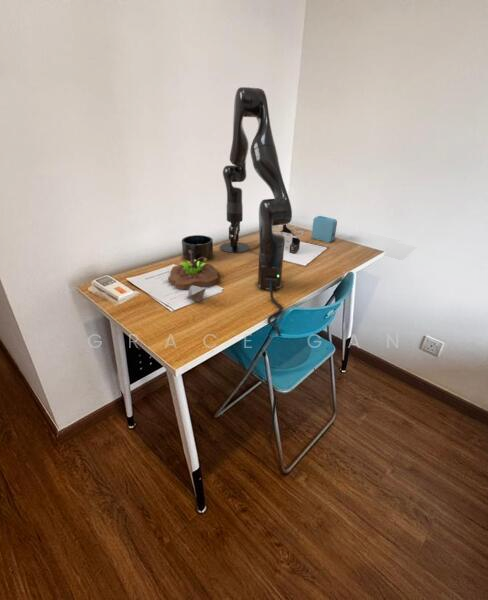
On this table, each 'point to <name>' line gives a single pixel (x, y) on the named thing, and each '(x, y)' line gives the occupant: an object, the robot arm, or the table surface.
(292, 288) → the table surface
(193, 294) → the paper boat
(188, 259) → the pot
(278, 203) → the robot arm
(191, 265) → the plant
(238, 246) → the lid
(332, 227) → the data package
